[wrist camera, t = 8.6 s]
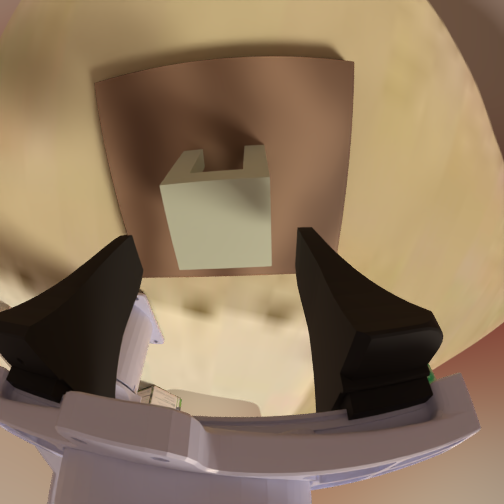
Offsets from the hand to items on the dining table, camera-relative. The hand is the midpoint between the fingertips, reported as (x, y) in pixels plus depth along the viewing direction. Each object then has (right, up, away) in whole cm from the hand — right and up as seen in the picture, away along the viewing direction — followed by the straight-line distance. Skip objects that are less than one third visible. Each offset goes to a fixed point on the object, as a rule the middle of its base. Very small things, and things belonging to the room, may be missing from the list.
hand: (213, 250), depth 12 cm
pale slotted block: (0, +4, +6) cm, 7 cm away
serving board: (0, +5, +7) cm, 9 cm away
